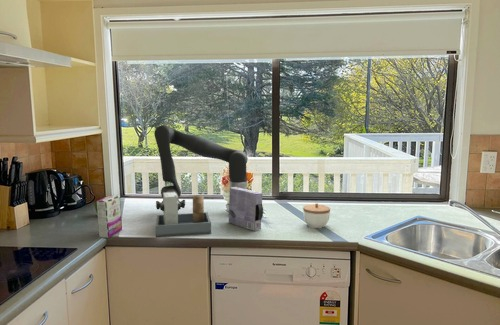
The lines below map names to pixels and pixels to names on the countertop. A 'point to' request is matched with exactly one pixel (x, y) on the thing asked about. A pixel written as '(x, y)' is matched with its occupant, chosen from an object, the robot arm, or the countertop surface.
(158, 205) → the robot arm
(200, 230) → the tote
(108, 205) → the candy bar box
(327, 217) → the lidded bowl
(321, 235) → the countertop surface
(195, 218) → the wooden cylinder
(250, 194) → the cake pan box
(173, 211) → the skincare box
